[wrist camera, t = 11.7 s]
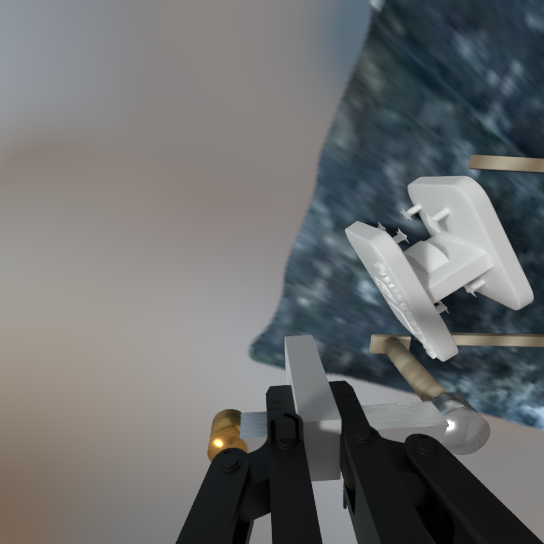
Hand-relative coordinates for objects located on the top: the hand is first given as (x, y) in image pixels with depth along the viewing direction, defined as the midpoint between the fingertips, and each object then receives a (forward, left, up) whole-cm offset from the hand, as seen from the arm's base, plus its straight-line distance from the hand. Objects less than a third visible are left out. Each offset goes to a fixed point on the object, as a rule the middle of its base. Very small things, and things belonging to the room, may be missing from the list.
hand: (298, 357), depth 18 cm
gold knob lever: (-6, +11, -9) cm, 15 cm away
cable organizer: (-16, -2, -22) cm, 27 cm away
